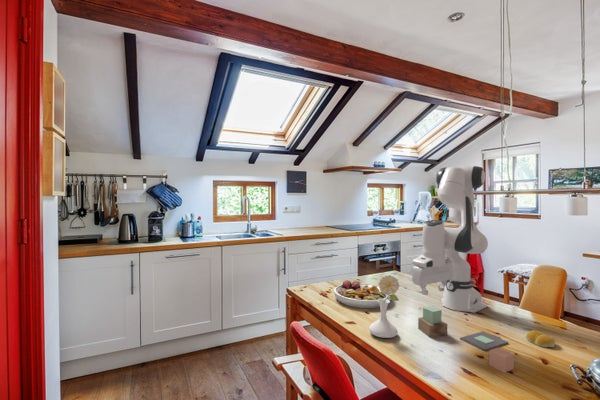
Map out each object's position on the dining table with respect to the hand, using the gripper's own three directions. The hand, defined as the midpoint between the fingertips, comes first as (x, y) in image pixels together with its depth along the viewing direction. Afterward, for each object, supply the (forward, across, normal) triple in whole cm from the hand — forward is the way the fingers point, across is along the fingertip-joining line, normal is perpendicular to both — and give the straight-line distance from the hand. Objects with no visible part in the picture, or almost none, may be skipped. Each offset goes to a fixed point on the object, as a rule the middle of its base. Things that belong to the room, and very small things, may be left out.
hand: (433, 292), depth 126 cm
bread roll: (+18, -31, +24) cm, 43 cm away
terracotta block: (+16, +1, +28) cm, 33 cm away
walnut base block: (+17, +1, 0) cm, 17 cm away
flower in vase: (+16, +21, -6) cm, 27 cm away
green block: (+12, +1, 0) cm, 12 cm away
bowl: (+17, +4, -44) cm, 47 cm away
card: (+17, -11, +14) cm, 25 cm away
